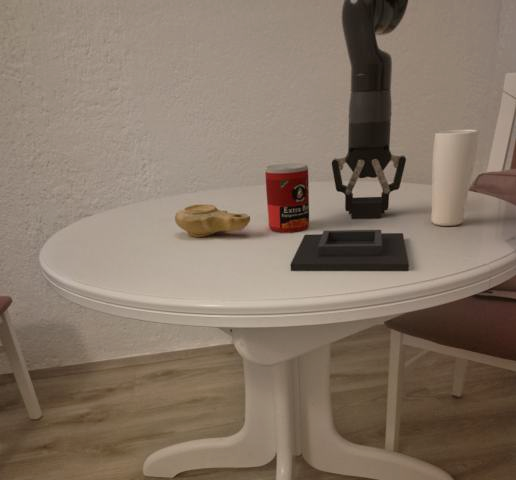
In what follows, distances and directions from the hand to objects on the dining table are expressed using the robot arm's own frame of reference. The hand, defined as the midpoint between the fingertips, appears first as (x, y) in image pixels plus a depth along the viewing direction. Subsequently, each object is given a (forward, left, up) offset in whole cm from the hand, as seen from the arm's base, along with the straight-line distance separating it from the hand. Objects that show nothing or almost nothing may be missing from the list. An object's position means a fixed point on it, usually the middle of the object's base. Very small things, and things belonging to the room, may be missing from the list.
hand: (366, 212), depth 95 cm
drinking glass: (-14, +8, -1) cm, 16 cm away
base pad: (+2, +26, 0) cm, 26 cm away
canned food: (+14, +9, -1) cm, 17 cm away
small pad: (0, 0, 0) cm, 0 cm away
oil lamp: (+28, +13, -1) cm, 31 cm away
